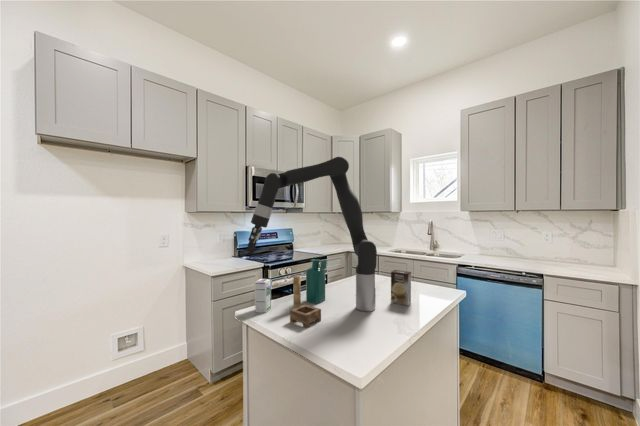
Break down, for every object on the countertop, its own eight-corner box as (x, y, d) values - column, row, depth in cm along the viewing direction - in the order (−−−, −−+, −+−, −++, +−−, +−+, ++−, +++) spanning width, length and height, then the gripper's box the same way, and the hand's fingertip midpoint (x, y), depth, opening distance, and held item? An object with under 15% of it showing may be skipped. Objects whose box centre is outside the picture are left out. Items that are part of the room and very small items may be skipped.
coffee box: (390, 302, 137) (390, 271, 138) (393, 299, 143) (393, 269, 143) (408, 305, 133) (408, 273, 133) (411, 302, 138) (411, 271, 138)
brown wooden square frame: (305, 315, 121) (304, 304, 121) (321, 320, 115) (320, 309, 115) (290, 322, 113) (290, 310, 113) (306, 328, 107) (306, 315, 107)
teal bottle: (304, 301, 141) (304, 259, 141) (314, 296, 148) (313, 257, 148) (319, 304, 135) (319, 261, 135) (328, 300, 142) (328, 259, 142)
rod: (297, 307, 131) (296, 275, 131) (302, 309, 129) (301, 276, 129) (292, 309, 128) (291, 276, 128) (297, 311, 126) (296, 277, 126)
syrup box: (266, 312, 124) (266, 281, 124) (254, 312, 125) (254, 281, 125) (271, 308, 130) (271, 278, 130) (259, 307, 131) (259, 278, 131)
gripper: (268, 217, 114) (256, 253, 114) (271, 218, 129) (260, 250, 128) (251, 212, 114) (239, 248, 113) (256, 213, 128) (245, 245, 127)
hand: (250, 249), depth 120 cm, fingers open, 8 cm apart
